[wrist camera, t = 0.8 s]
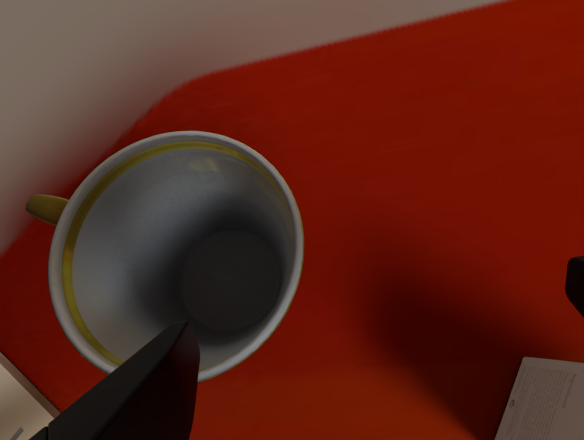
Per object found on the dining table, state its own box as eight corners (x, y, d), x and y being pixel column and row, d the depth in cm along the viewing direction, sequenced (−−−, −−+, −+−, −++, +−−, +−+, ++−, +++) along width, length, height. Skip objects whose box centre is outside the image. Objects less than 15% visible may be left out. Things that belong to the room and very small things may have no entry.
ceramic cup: (330, 230, 24) (336, 163, 15) (281, 389, 22) (250, 432, 12) (151, 177, 26) (55, 90, 17) (88, 318, 24) (-67, 308, 14)
